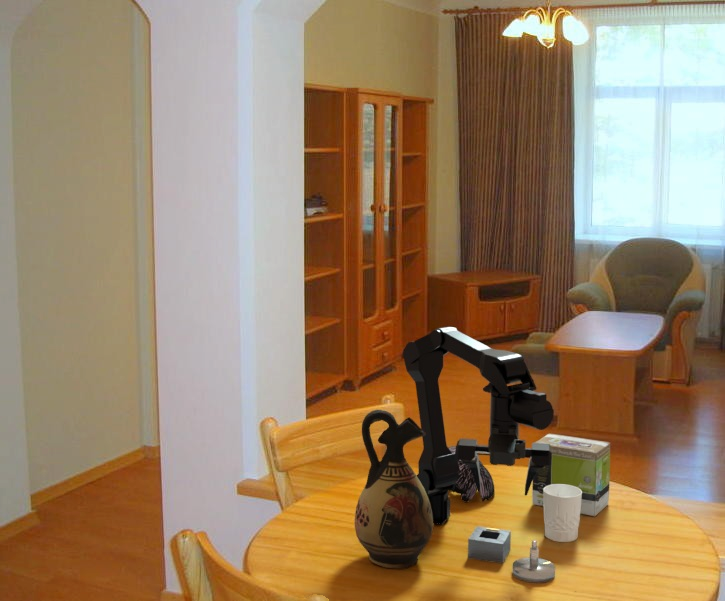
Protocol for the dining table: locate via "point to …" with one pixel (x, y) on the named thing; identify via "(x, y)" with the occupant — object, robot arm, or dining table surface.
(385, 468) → the ceramic jug
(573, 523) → the white cup
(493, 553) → the grey knob housing box
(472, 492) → the decorative flower
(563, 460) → the tea box
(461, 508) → the dining table surface
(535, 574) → the hub
